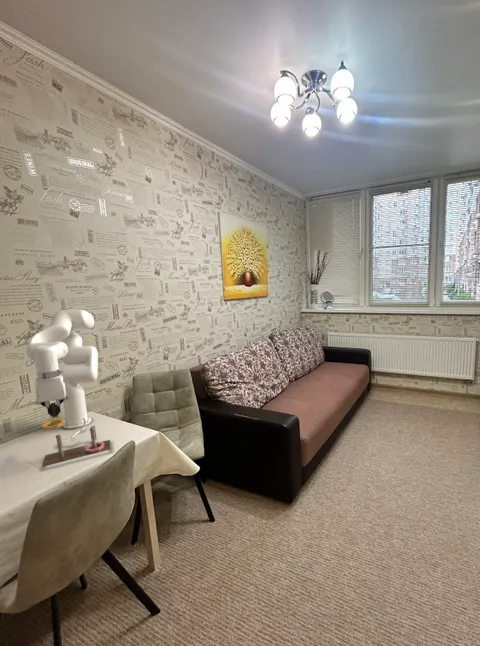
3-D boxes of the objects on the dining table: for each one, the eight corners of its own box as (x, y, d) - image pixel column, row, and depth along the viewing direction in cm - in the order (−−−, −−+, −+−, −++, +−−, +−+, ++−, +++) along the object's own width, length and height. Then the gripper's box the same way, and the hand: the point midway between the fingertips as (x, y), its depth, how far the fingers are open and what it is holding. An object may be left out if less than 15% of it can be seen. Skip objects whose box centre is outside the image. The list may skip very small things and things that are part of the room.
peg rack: (45, 458, 132) (41, 433, 130) (110, 442, 144) (107, 419, 142) (42, 470, 123) (38, 443, 121) (111, 452, 136) (108, 428, 134)
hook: (96, 425, 160) (76, 451, 141) (76, 426, 159) (54, 452, 140) (93, 413, 158) (72, 438, 139) (73, 414, 157) (50, 439, 138)
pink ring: (85, 442, 142) (83, 428, 140) (103, 438, 145) (101, 424, 144) (84, 454, 132) (82, 439, 131) (104, 449, 136) (102, 434, 134)
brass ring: (45, 419, 133) (42, 404, 132) (65, 415, 137) (63, 401, 135) (41, 431, 123) (38, 414, 122) (63, 426, 127) (61, 410, 126)
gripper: (71, 369, 138) (76, 407, 141) (26, 375, 130) (33, 415, 133) (70, 373, 132) (76, 413, 135) (23, 380, 123) (30, 422, 127)
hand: (54, 414), depth 134 cm, fingers closed on brass ring, 1 cm apart
